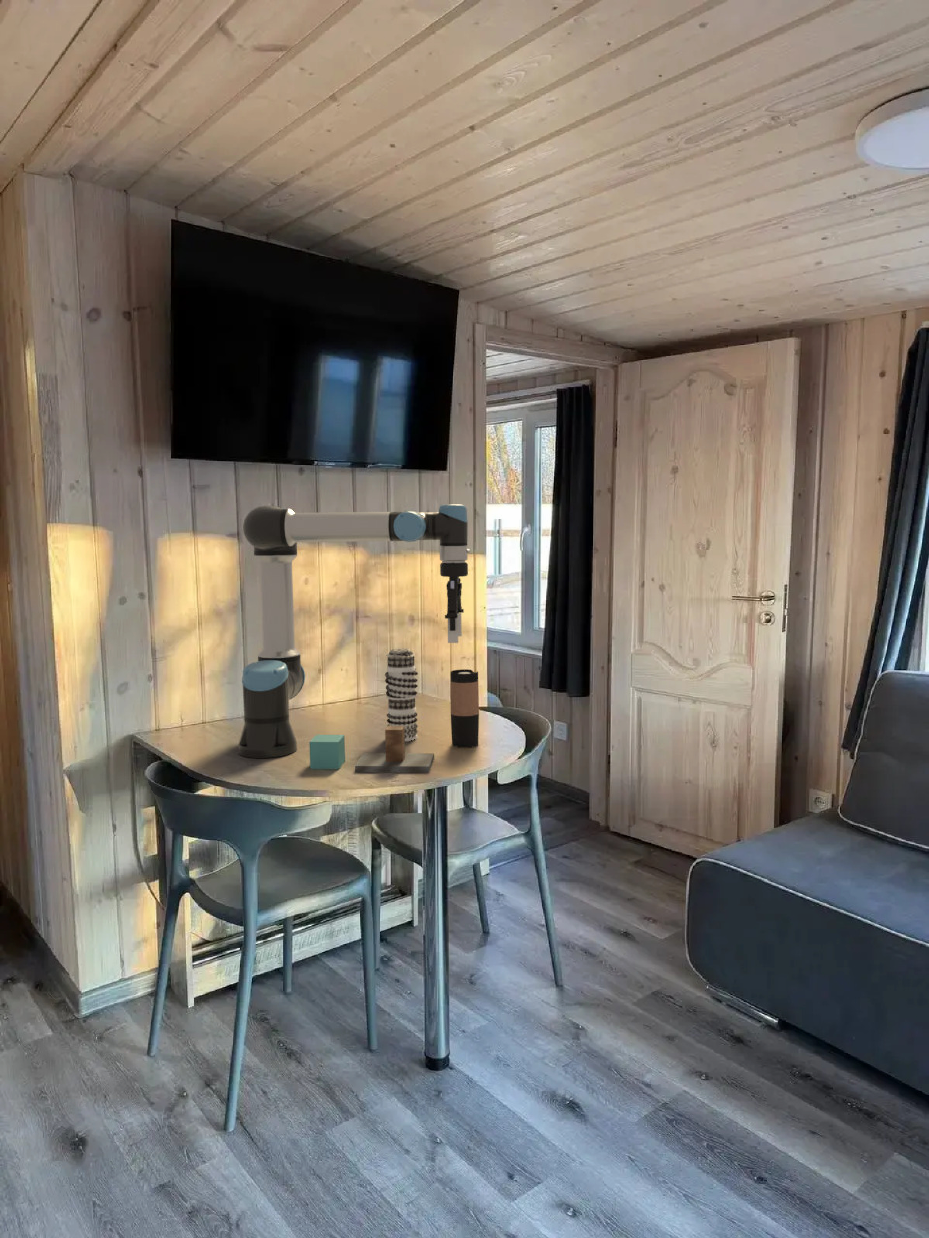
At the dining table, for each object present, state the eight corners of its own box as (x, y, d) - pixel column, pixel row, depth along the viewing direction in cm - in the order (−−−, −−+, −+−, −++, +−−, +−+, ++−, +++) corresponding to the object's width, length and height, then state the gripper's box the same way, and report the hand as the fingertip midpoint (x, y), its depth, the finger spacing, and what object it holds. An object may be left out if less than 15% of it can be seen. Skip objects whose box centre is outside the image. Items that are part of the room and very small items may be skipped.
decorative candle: (420, 733, 246) (418, 647, 243) (417, 741, 237) (416, 651, 234) (388, 733, 246) (386, 647, 243) (384, 742, 237) (382, 652, 234)
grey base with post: (355, 771, 208) (354, 733, 207) (363, 758, 220) (363, 722, 219) (429, 772, 207) (428, 733, 206) (434, 759, 219) (433, 722, 218)
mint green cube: (310, 768, 211) (309, 741, 210) (317, 760, 218) (316, 734, 217) (339, 769, 211) (338, 741, 210) (345, 761, 218) (344, 734, 217)
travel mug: (449, 747, 230) (448, 673, 228) (453, 740, 238) (452, 669, 235) (477, 748, 229) (476, 674, 227) (480, 741, 236) (480, 669, 234)
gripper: (464, 563, 221) (465, 645, 223) (470, 559, 246) (471, 633, 248) (435, 563, 221) (437, 645, 224) (444, 560, 246) (445, 633, 248)
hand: (454, 639), depth 236 cm, fingers open, 13 cm apart
